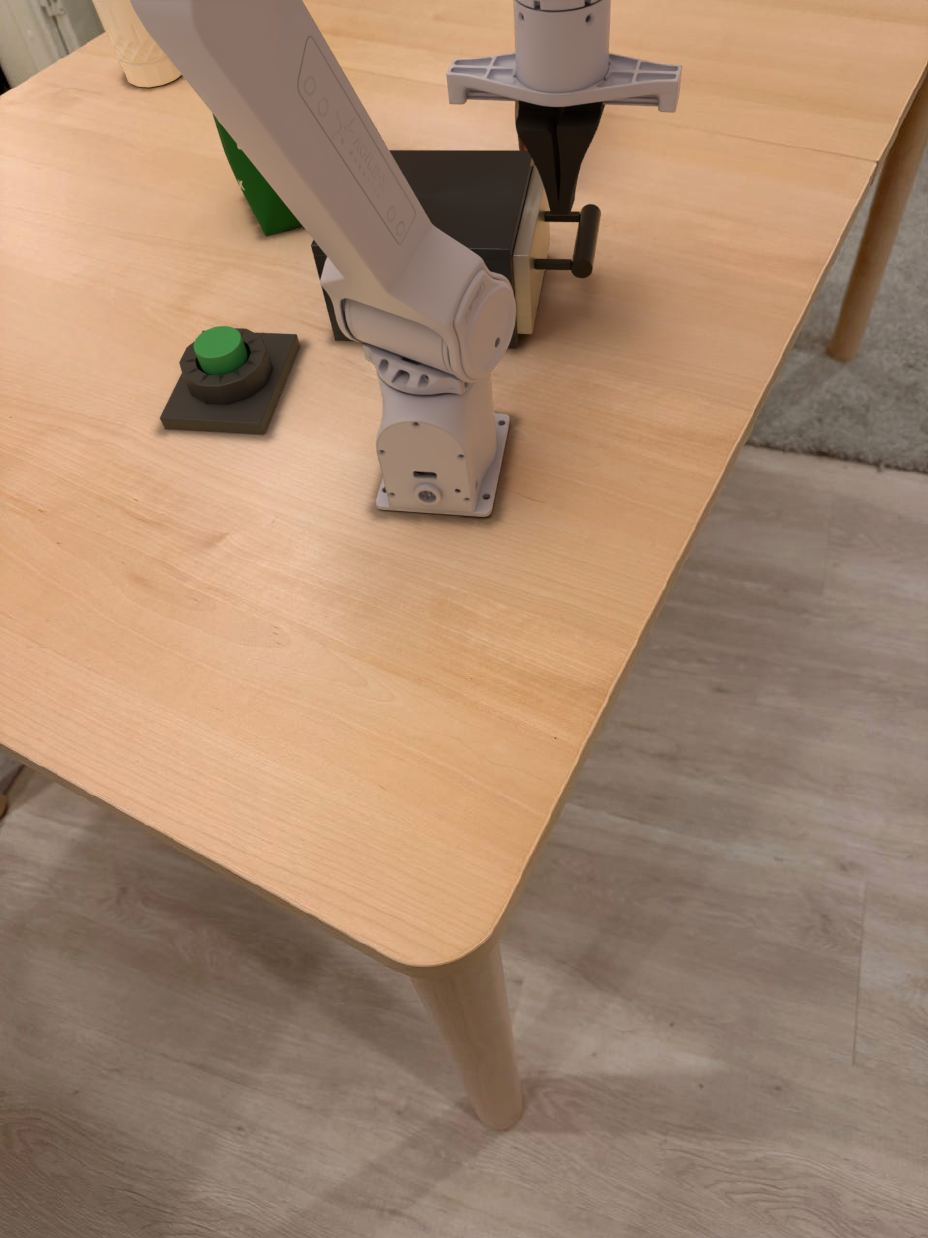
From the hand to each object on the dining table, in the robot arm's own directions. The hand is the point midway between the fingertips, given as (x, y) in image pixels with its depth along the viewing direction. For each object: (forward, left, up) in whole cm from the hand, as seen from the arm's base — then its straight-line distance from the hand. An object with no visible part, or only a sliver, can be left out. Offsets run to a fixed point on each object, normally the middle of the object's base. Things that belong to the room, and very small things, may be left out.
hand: (562, 206), depth 65 cm
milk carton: (+15, +26, -10) cm, 32 cm away
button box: (-9, +24, -10) cm, 28 cm away
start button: (-9, +24, -7) cm, 27 cm away
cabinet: (+3, +10, -10) cm, 14 cm away
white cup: (+40, +49, -10) cm, 64 cm away
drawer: (+3, +7, -9) cm, 11 cm away
